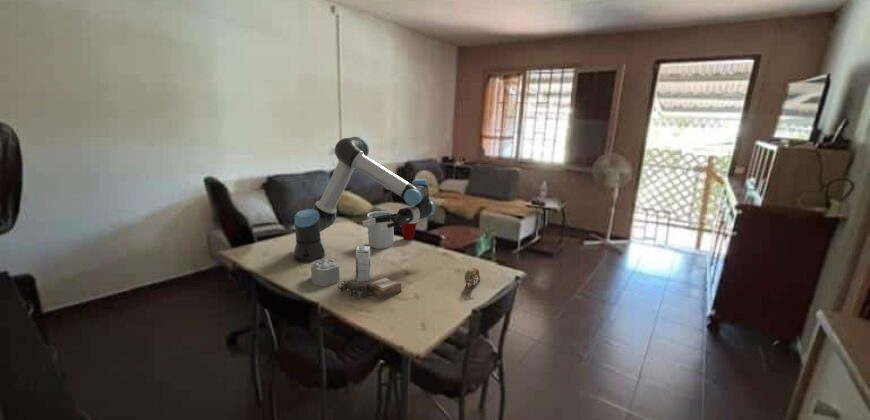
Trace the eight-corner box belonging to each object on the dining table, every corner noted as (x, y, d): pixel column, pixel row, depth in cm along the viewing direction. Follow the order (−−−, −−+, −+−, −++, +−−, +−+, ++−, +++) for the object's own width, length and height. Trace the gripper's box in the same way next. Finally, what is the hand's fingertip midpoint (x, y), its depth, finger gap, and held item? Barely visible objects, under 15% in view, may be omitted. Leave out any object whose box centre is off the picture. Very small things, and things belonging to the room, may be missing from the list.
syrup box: (357, 276, 171) (356, 245, 168) (370, 276, 172) (370, 245, 168) (355, 281, 166) (354, 250, 162) (369, 281, 166) (369, 250, 163)
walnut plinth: (366, 291, 157) (366, 282, 156) (385, 284, 164) (385, 275, 163) (382, 299, 150) (382, 290, 149) (401, 291, 158) (401, 282, 157)
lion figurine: (474, 293, 158) (475, 272, 156) (462, 291, 159) (463, 271, 157) (481, 279, 172) (482, 260, 169) (469, 277, 173) (470, 258, 171)
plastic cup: (415, 242, 219) (415, 222, 216) (397, 241, 221) (397, 221, 218) (420, 237, 229) (420, 217, 226) (402, 235, 231) (402, 216, 228)
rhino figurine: (340, 290, 158) (340, 277, 156) (371, 294, 155) (371, 281, 153) (335, 294, 154) (335, 281, 152) (367, 299, 151) (367, 285, 149)
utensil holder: (392, 249, 207) (392, 218, 203) (365, 248, 207) (364, 217, 203) (395, 240, 222) (395, 211, 217) (370, 240, 222) (369, 210, 217)
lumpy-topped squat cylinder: (321, 287, 160) (320, 268, 158) (306, 278, 169) (305, 259, 167) (343, 280, 167) (342, 262, 165) (327, 272, 176) (326, 254, 174)
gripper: (426, 225, 176) (389, 237, 162) (393, 219, 194) (358, 230, 180) (424, 209, 174) (387, 220, 160) (391, 205, 192) (355, 215, 178)
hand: (371, 226), depth 170 cm, fingers open, 13 cm apart
